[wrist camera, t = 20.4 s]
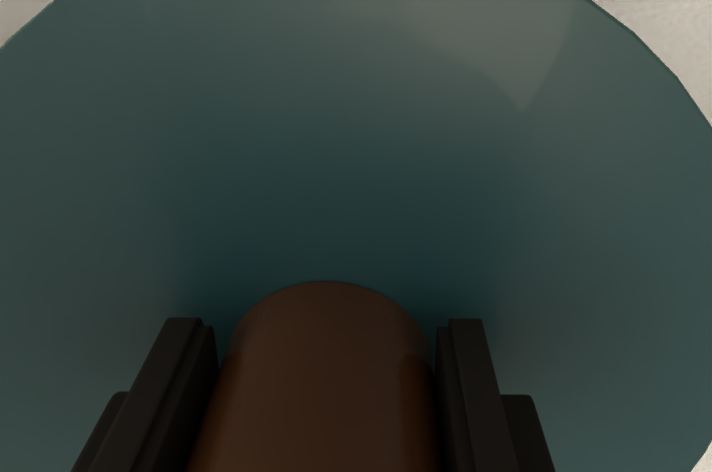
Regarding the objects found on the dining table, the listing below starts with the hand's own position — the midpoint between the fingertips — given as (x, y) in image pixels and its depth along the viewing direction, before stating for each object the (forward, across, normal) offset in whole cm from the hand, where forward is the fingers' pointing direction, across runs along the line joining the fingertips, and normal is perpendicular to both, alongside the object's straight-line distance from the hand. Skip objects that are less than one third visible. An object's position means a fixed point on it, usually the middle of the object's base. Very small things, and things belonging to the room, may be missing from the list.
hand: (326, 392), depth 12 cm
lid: (+1, 0, 0) cm, 1 cm away
